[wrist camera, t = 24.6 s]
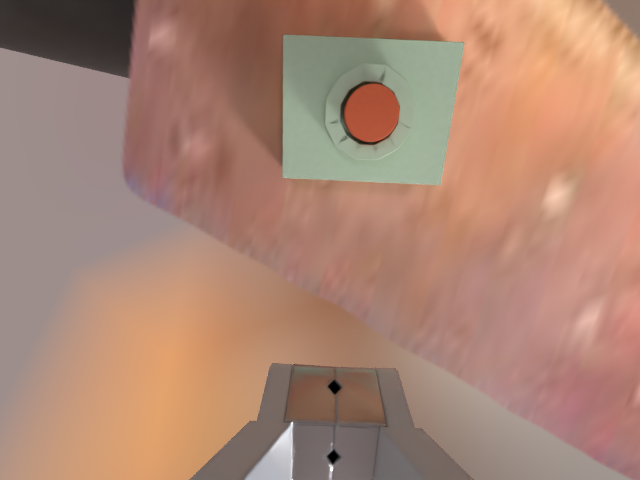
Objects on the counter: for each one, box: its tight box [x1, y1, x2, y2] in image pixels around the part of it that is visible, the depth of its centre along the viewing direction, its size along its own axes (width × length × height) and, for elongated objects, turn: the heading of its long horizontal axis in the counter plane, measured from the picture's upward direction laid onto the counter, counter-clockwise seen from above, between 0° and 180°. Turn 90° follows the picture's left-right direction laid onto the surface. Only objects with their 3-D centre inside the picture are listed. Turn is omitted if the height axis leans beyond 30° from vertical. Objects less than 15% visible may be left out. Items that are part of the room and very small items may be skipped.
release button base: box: [282, 35, 464, 185], centre depth 27 cm, size 14×11×5 cm
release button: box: [344, 83, 399, 142], centre depth 24 cm, size 4×4×2 cm
